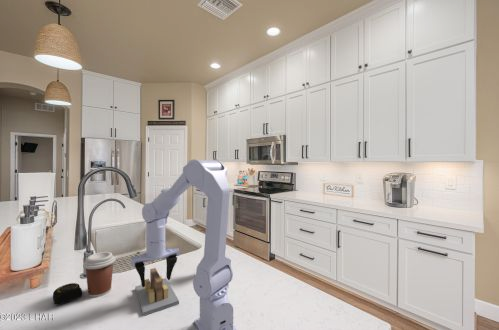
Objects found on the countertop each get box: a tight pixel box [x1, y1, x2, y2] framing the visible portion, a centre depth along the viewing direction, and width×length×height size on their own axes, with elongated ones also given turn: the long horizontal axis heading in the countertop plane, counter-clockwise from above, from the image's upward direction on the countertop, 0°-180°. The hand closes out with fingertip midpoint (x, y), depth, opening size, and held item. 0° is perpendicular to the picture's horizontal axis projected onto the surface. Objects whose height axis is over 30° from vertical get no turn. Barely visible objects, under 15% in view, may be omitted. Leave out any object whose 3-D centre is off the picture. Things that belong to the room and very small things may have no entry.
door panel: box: [149, 267, 162, 302], centre depth 74 cm, size 10×2×6 cm, turn 34°
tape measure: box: [52, 282, 83, 306], centre depth 72 cm, size 7×7×4 cm
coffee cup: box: [82, 251, 117, 298], centre depth 76 cm, size 9×9×12 cm
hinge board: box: [135, 275, 180, 317], centre depth 74 cm, size 16×10×4 cm, turn 34°
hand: (156, 281), depth 74 cm, fingers open, 7 cm apart
